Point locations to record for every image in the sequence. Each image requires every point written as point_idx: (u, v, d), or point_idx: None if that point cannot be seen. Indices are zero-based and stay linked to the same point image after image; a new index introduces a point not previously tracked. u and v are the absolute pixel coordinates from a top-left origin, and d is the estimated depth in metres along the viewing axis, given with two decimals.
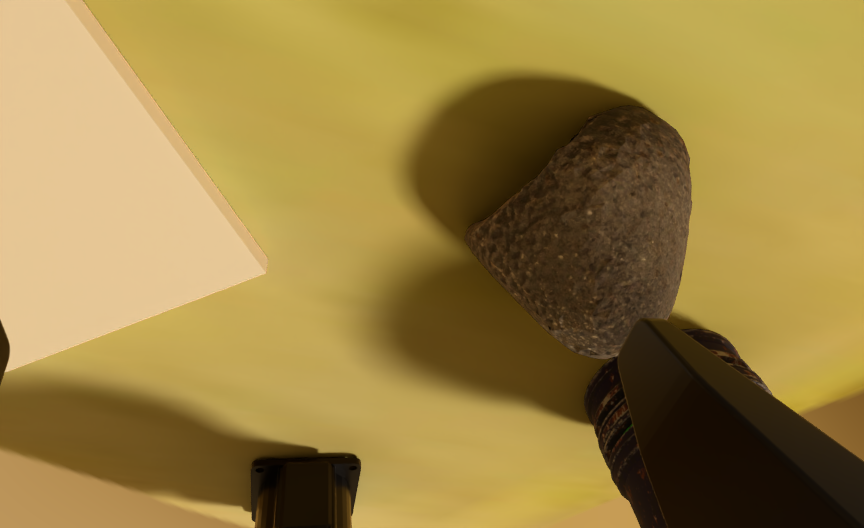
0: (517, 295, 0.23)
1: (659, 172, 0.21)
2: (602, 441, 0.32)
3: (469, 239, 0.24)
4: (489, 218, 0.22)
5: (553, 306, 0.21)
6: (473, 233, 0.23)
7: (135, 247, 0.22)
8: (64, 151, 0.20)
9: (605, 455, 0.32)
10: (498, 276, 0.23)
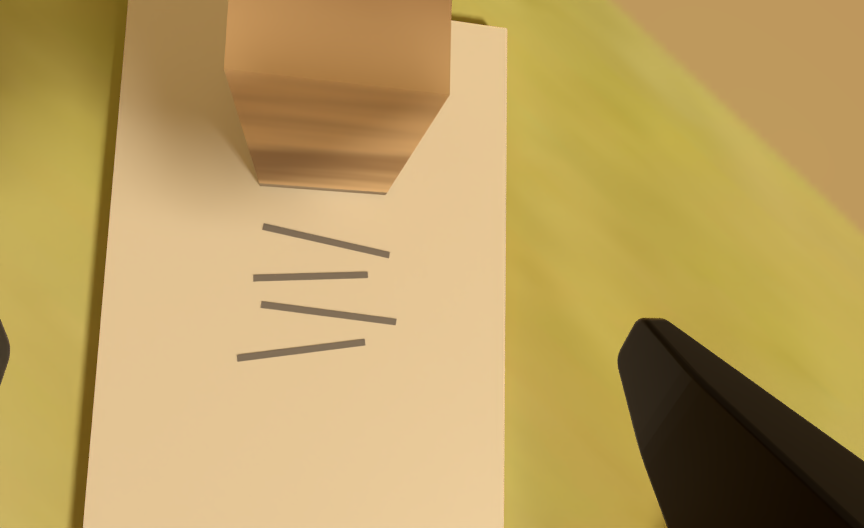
0: None
1: None
2: None
3: None
4: None
5: None
6: None
7: (400, 512, 0.20)
8: (417, 386, 0.21)
9: None
10: None
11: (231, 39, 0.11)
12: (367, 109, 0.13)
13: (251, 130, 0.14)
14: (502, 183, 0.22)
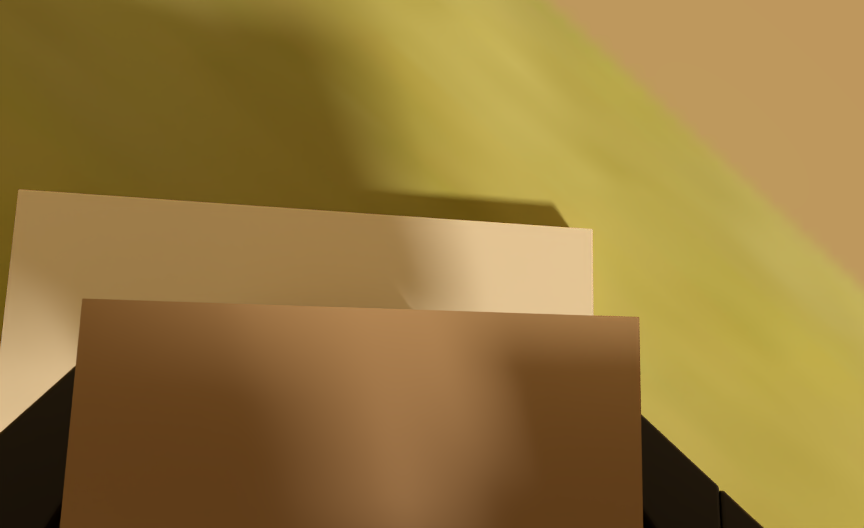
0: None
1: None
2: None
3: None
4: None
5: None
6: None
7: None
8: None
9: None
10: None
11: None
12: None
13: None
14: None
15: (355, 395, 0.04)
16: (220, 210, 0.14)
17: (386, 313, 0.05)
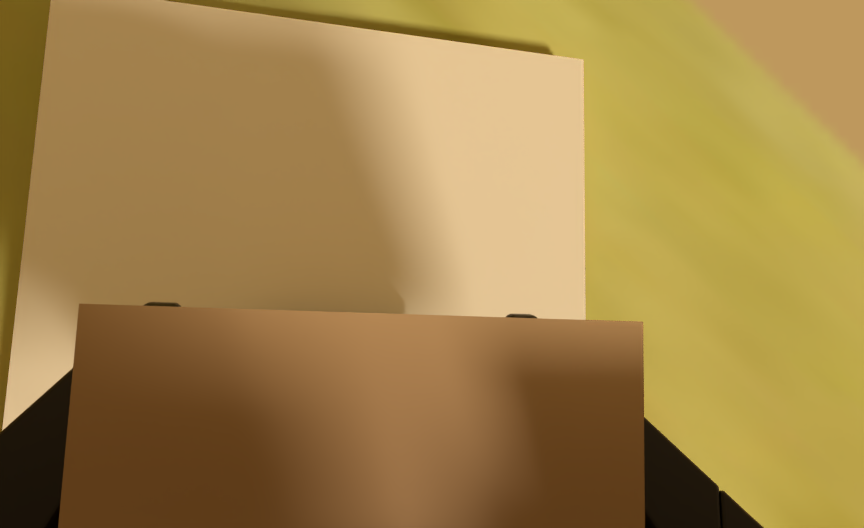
0: None
1: None
2: None
3: None
4: None
5: None
6: None
7: None
8: None
9: None
10: None
11: None
12: None
13: None
14: (580, 276, 0.16)
15: (357, 400, 0.04)
16: (237, 17, 0.15)
17: (387, 318, 0.05)
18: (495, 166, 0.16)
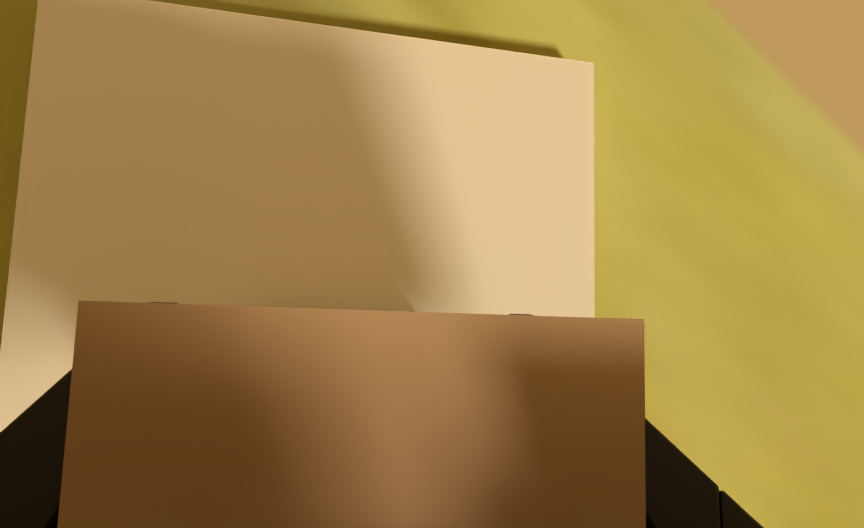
0: None
1: None
2: None
3: None
4: None
5: None
6: None
7: None
8: None
9: None
10: None
11: None
12: None
13: None
14: (589, 288, 0.15)
15: (357, 398, 0.04)
16: (233, 19, 0.14)
17: (387, 315, 0.05)
18: (501, 175, 0.15)
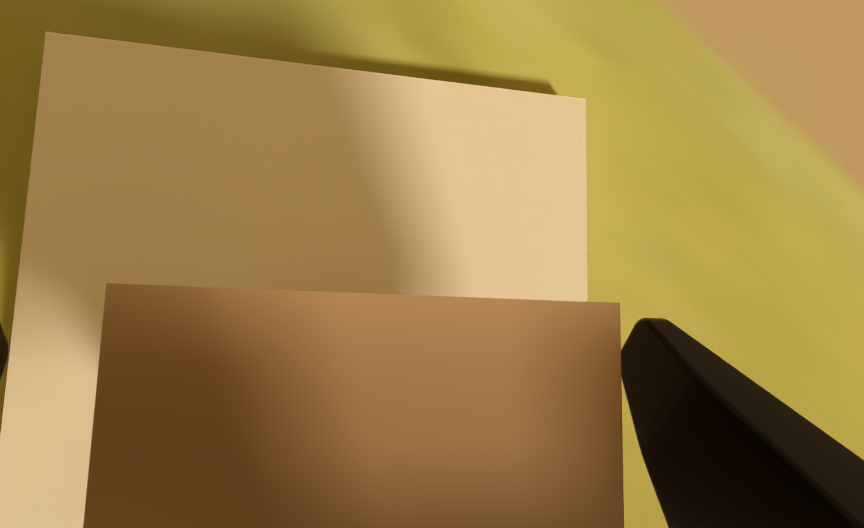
0: None
1: None
2: None
3: None
4: None
5: None
6: None
7: None
8: None
9: None
10: None
11: None
12: None
13: None
14: None
15: (356, 372, 0.05)
16: (234, 61, 0.14)
17: (384, 298, 0.05)
18: (496, 210, 0.15)
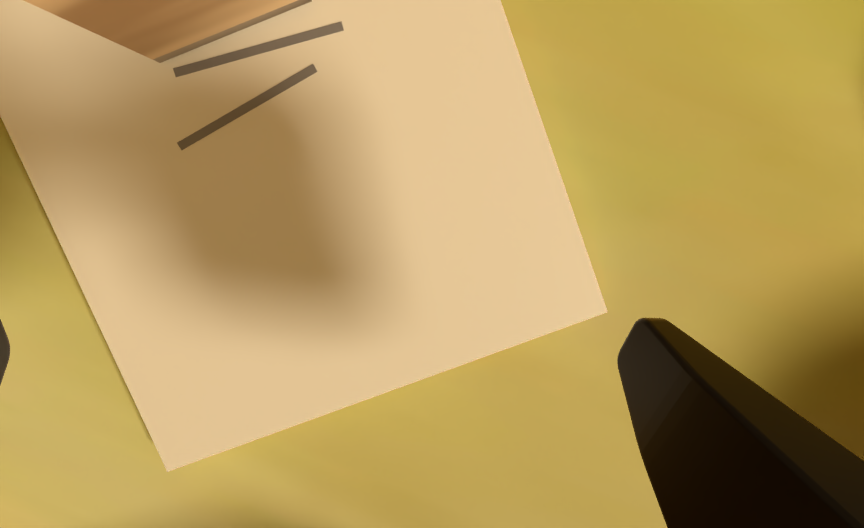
0: None
1: None
2: None
3: None
4: None
5: None
6: None
7: (441, 251, 0.16)
8: (402, 96, 0.16)
9: None
10: None
11: None
12: None
13: None
14: None
15: None
16: None
17: None
18: None
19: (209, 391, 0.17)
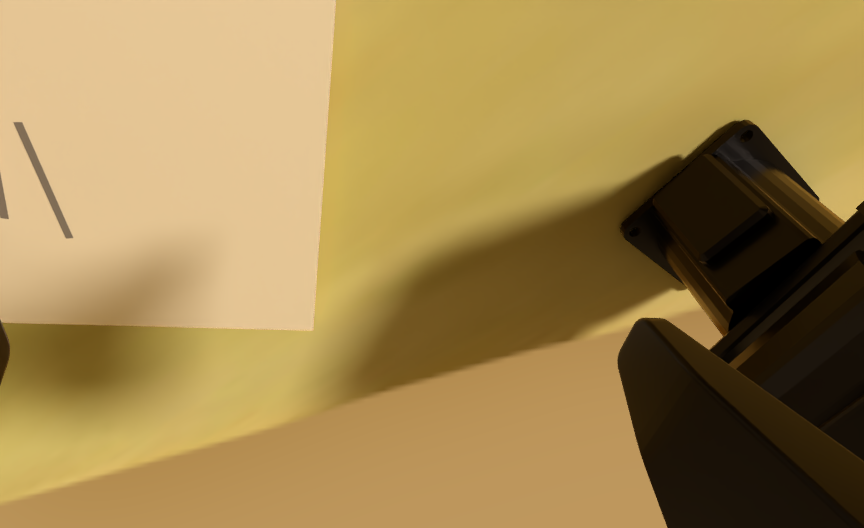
0: None
1: None
2: None
3: None
4: None
5: None
6: None
7: (220, 99, 0.18)
8: (60, 65, 0.17)
9: None
10: None
11: None
12: None
13: None
14: None
15: None
16: None
17: None
18: None
19: (268, 290, 0.23)
